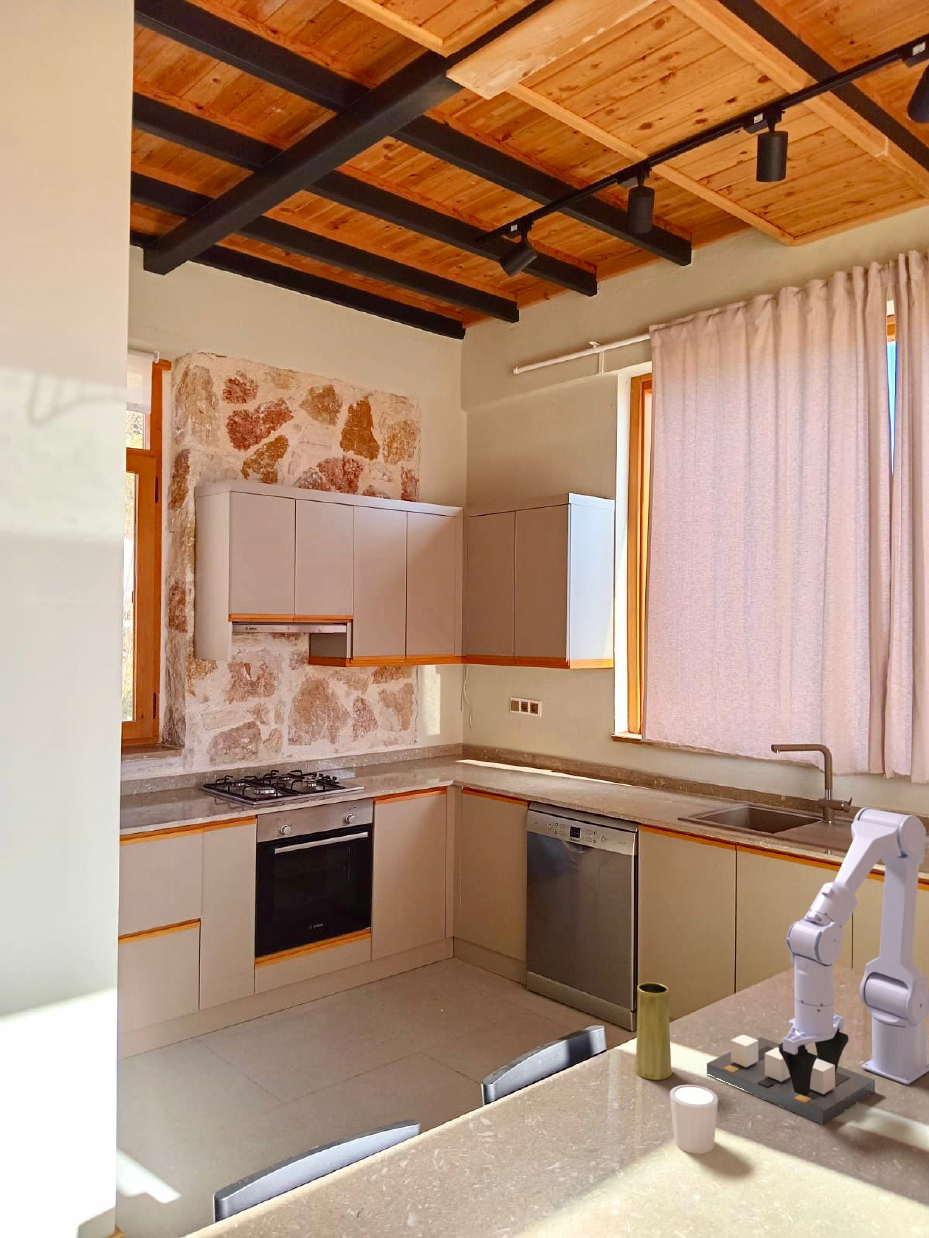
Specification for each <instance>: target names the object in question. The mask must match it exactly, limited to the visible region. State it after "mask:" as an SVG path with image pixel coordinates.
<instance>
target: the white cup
mask: <svg viewBox="0 0 929 1238" xmlns="http://www.w3.org/2000/svg"><path fill="white" fill-rule="evenodd" d="M669 1097H670V1108H671V1118H672V1130H673V1140H674V1144H675V1146H677V1148H678V1149H680V1150H682V1151H684V1152H687V1153H691V1154H699V1155H700V1154H706V1153H709V1152H711V1151H712V1150H713V1149H714V1146H715V1139H716V1127H717V1126H716V1125H717V1113H718V1101H719V1099H718V1095H717V1094H716V1093H715V1092H714V1091H713V1090H711V1089H709V1088H707V1087H704V1086H700V1085H697V1084H681V1085H677V1086H675V1087H673V1088H671V1090H670V1091H669Z"/></svg>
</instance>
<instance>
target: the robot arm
mask: <svg viewBox="0 0 929 1238" xmlns="http://www.w3.org/2000/svg"><path fill="white" fill-rule="evenodd" d="M850 830H851V839H852V842H851V845H850V847H849V849H848V851H847V853H846V855H845V858H844V860H843V862H842V864H841V866H840V868H839V869H838V873H837V875H836V877H835V878H834V881H830V882H826V883H824V884H822V887H821V888H820V890H819V892H818V894H817V895H816V897H815V899H814V900H813V902H812V904H811V906H810V908H809V909H808V910H807V912H806V914H805V915H804V917H803V919H799V920H798V921H795V922H793V923H792V924H791V925H790V927H789V929H788V931H787V937H786V938H785V946H786V949H787V951H788V952H789V955H790V964H791V965H792V966H793V967H794V969H793V970H794V1017H793V1018H791V1019H789V1020H788V1025H789V1026H790V1030H789V1031H788V1033H787V1035H786V1036H784V1037H783V1038H782V1042H781V1043H778V1044H779V1052H780V1054H781V1055H782V1057H783V1059H784V1061H785V1063H786V1065H787V1068H788V1070H789V1074H790V1077H791V1081H792V1085H793V1089H794V1092H795V1093H798V1094H800V1095H803V1096H805V1097H806V1096H808V1094H809V1090H810V1082H811V1073H812V1069H813V1065H814V1063H815V1061H816V1059H817V1058H818V1059H820V1060H823V1061H825V1062H828V1063H831V1064H833V1065H835V1075H836V1071H837V1067H838V1066H839V1064H840V1059H841V1057H842V1053H843V1052H844V1049H845V1048H846V1046H847V1044H848V1042H849V1039H850V1038H849V1035H848V1034H846V1033H844V1032H841V1031H842V1030H844V1017H843V1016H840V1015H838V1014H835V1013H834V963H835V962H836V961H837V960H838V958H839V957H840V955H841V951H842V945H843V944H842V943H843V939H844V938H845V937H844V935H845V933H844V930H845V928H846V925H847V924H848V922H849V920H850V919H851V917H852V916H853V913H854V912H855V909H857V906H858V899H857V897H856V892H857V891H858V889H859V888H860V887H861V885H862V884H863V882H864V881H865V879H866V878H867V877H868V875H870V874H869V873H871V871H872V870H873V868H874V866H876V864H877V862H878V861H879V860H881V861H882V862H883V864H884V865H885V866H884V867H885V870H884V871H885V872H884V882H883V883H884V884H883V894H882V895H883V897H882V898H883V899H882V910H881V923H880V925H881V926H880V939H879V940H880V941H879V954H878V955H879V956H878V957H876V958H874V959H872V960H870V961H868V962H867V963H866V964H865V968H864V969H865V970H864V974H863V978H862V979H861V982H860V985H859V986H860V987H859V994H860V999H861V1002H862V1003H863V1005H864V1006H865V1007H867V1014H869V1015H871V1040H872V1041H871V1053H872V1054H871V1059H870V1060H867V1062H865V1063H862V1065H861V1068H862V1069H863V1070H866V1071H869V1072H872V1073H874V1074H877V1075H880V1076H883V1077H884V1078H888V1079H889V1080H893V1081H896V1082H899V1083H901V1084H904V1085H910V1084H911V1083H913V1082H915V1081H916V1080H917V1079H919V1078H920V1077H922V1076H923V1075H925V1074H926V1073H929V1063H928V1031H927V1030H928V1029H927V1025H926V1024H925V1022H924V1021H925V1020H926V1019H927V1017H928V1016H929V982H928V981H929V978H928V977H927V976H926V974H925V973H923V971H922V970H921V969H920V968H919V967H918V966H917V965H916V964H915V962H914V961H913V960H914V946H915V945H914V943H915V933H916V932H915V931H916V916H917V900H918V885H919V872H920V871H919V870H920V865H921V864H923V863H924V859H925V850H926V836H927V832H926V831H927V828H926V827H925V826H924V824H923V822H922V821H921V819H920V818H919V817H918V816H917V815H914V814H908V815H907V814H903V813H897V812H890V811H884V810H879V809H874V808H871V807H862V808H860V809H859V810H858V812H857V813H856V815H855V816H854V819H853V822H852V823H851V829H850ZM812 1043H814V1045H815V1046H814V1047H815V1050H816V1054H814V1053H811V1052H809V1051H808V1049H807V1048H806V1046H807V1045H809V1044H812Z"/></svg>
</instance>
